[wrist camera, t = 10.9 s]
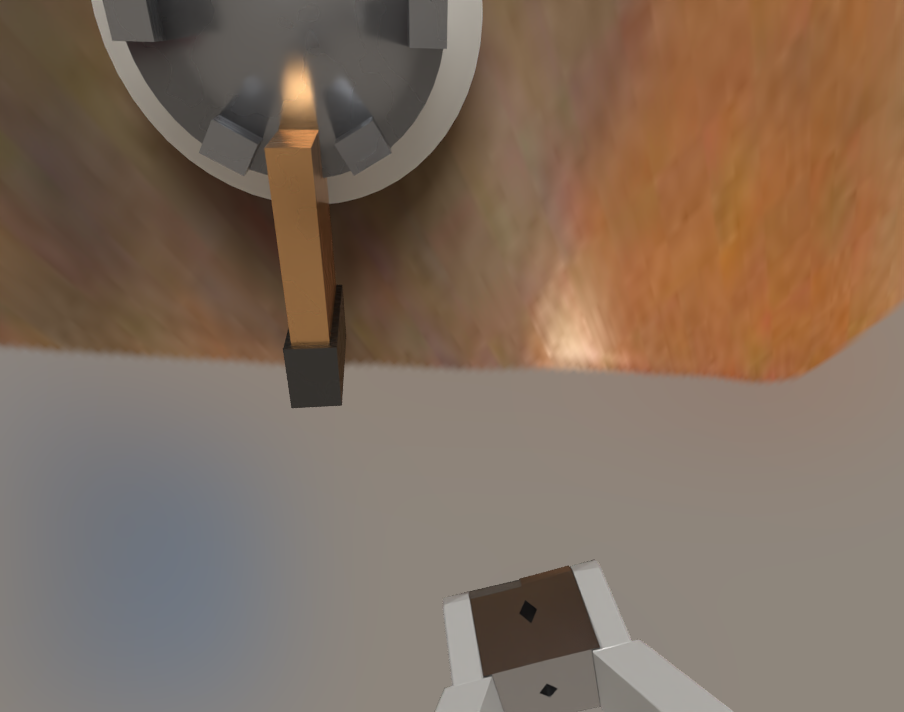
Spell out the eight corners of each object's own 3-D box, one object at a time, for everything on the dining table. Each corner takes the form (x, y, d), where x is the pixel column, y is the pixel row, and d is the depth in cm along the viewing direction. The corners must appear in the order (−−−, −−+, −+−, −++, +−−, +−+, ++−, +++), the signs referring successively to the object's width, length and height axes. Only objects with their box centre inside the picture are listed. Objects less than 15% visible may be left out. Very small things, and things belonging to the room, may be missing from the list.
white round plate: (497, -174, 24) (514, -198, 21) (449, 202, 32) (457, 220, 29) (81, -265, 21) (39, -306, 18) (141, 172, 29) (118, 188, 26)
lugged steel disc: (101, -188, 20) (-14, -277, 14) (439, -164, 21) (468, -235, 15) (213, 336, 31) (175, 414, 25) (434, 327, 32) (449, 399, 26)
